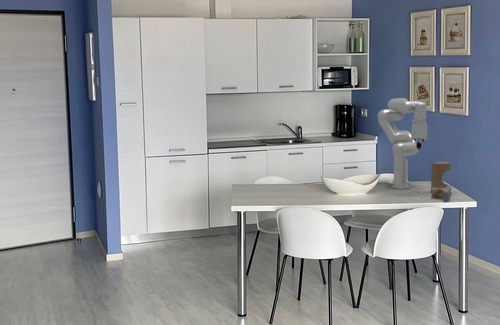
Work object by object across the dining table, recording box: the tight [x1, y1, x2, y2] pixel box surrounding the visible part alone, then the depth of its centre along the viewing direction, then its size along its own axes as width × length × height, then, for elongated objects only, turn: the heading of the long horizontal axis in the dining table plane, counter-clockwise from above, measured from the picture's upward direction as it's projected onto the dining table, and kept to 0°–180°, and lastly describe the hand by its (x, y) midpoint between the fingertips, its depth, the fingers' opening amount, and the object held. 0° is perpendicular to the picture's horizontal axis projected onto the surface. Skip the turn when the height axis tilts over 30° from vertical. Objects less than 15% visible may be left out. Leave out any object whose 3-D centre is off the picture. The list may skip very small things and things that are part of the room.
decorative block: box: [430, 161, 451, 193], centre depth 463 cm, size 11×6×20 cm, turn 96°
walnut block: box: [431, 187, 445, 200], centre depth 447 cm, size 8×8×6 cm
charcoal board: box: [442, 185, 452, 203], centre depth 445 cm, size 2×24×6 cm, turn 160°
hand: (418, 148), depth 459 cm, fingers closed
